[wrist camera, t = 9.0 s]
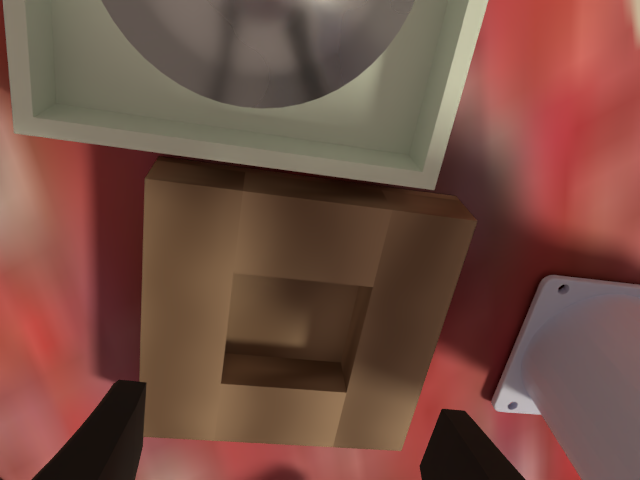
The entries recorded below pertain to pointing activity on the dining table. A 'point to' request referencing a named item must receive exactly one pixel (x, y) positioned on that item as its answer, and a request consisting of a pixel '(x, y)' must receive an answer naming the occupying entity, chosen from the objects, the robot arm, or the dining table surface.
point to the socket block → (291, 304)
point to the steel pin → (260, 44)
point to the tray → (242, 122)
